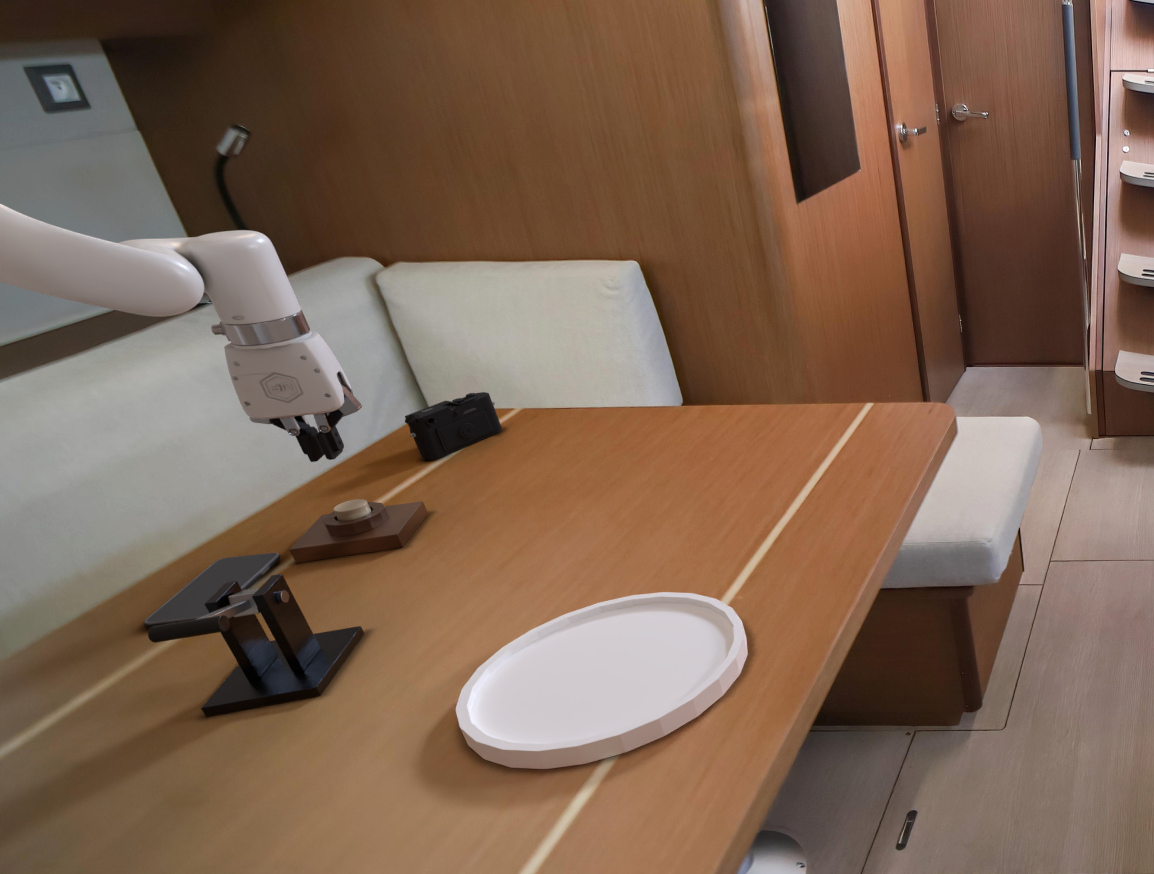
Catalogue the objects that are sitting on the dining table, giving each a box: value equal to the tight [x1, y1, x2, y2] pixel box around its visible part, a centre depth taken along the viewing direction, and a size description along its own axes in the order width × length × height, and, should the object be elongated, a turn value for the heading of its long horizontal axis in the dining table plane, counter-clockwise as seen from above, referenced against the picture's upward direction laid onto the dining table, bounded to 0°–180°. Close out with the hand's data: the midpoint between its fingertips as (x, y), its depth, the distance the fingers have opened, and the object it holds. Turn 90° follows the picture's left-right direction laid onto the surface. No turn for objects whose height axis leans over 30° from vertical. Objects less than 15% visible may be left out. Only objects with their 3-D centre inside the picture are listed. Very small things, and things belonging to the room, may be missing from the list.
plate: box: [454, 591, 749, 770], centre depth 110 cm, size 28×28×2 cm
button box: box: [288, 500, 429, 564], centre depth 135 cm, size 12×10×4 cm
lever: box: [147, 587, 261, 644], centre depth 101 cm, size 12×6×2 cm, turn 21°
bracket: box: [200, 573, 365, 717], centre depth 108 cm, size 12×10×12 cm
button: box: [332, 498, 371, 521], centre depth 134 cm, size 4×4×2 cm
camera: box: [404, 391, 503, 461], centre depth 162 cm, size 14×7×8 cm, turn 165°
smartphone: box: [143, 552, 282, 628], centre depth 124 cm, size 7×1×15 cm
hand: (327, 455), depth 130 cm, fingers closed
